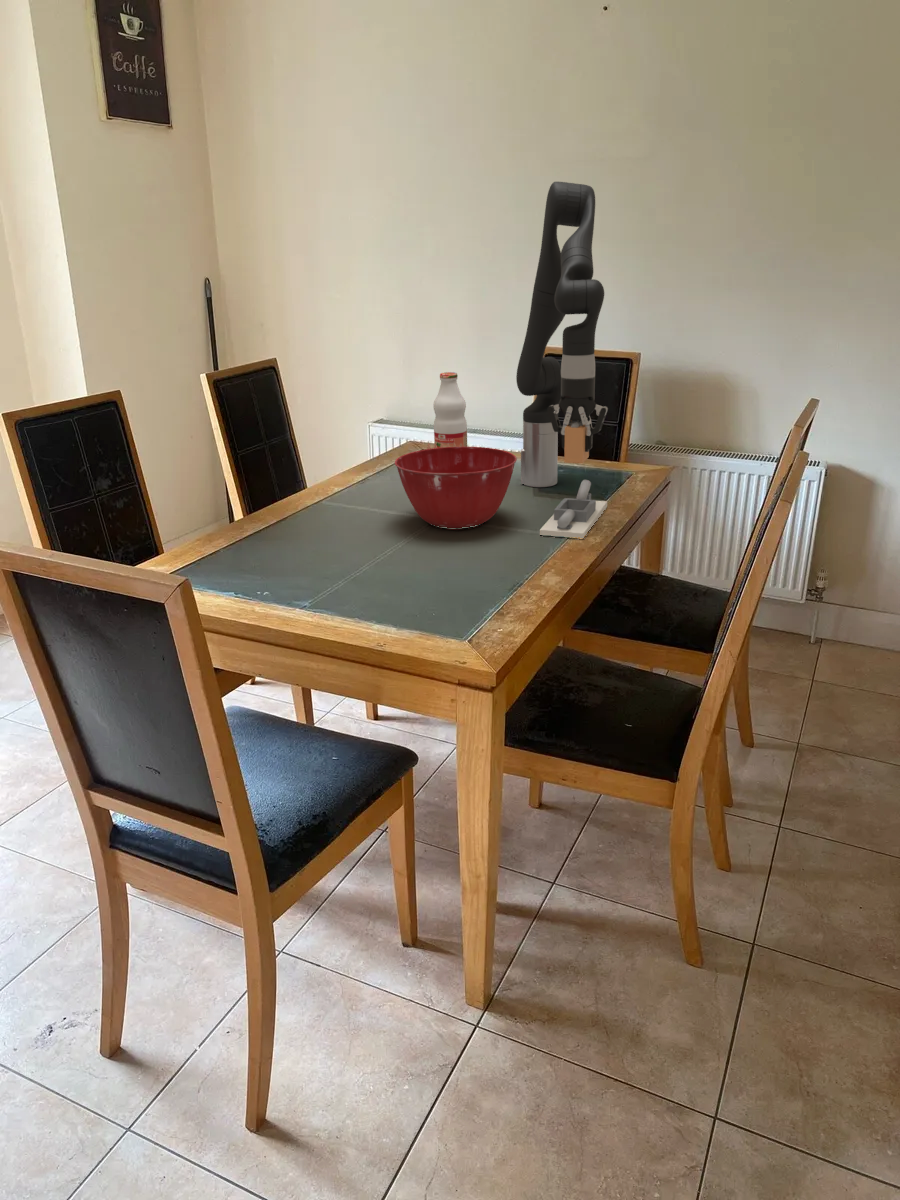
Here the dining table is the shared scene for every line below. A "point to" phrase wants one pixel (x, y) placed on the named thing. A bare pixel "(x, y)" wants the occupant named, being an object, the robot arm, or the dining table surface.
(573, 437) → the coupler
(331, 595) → the dining table surface
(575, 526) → the shaft rig
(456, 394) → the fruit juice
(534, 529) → the dining table surface
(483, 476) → the mixing bowl
